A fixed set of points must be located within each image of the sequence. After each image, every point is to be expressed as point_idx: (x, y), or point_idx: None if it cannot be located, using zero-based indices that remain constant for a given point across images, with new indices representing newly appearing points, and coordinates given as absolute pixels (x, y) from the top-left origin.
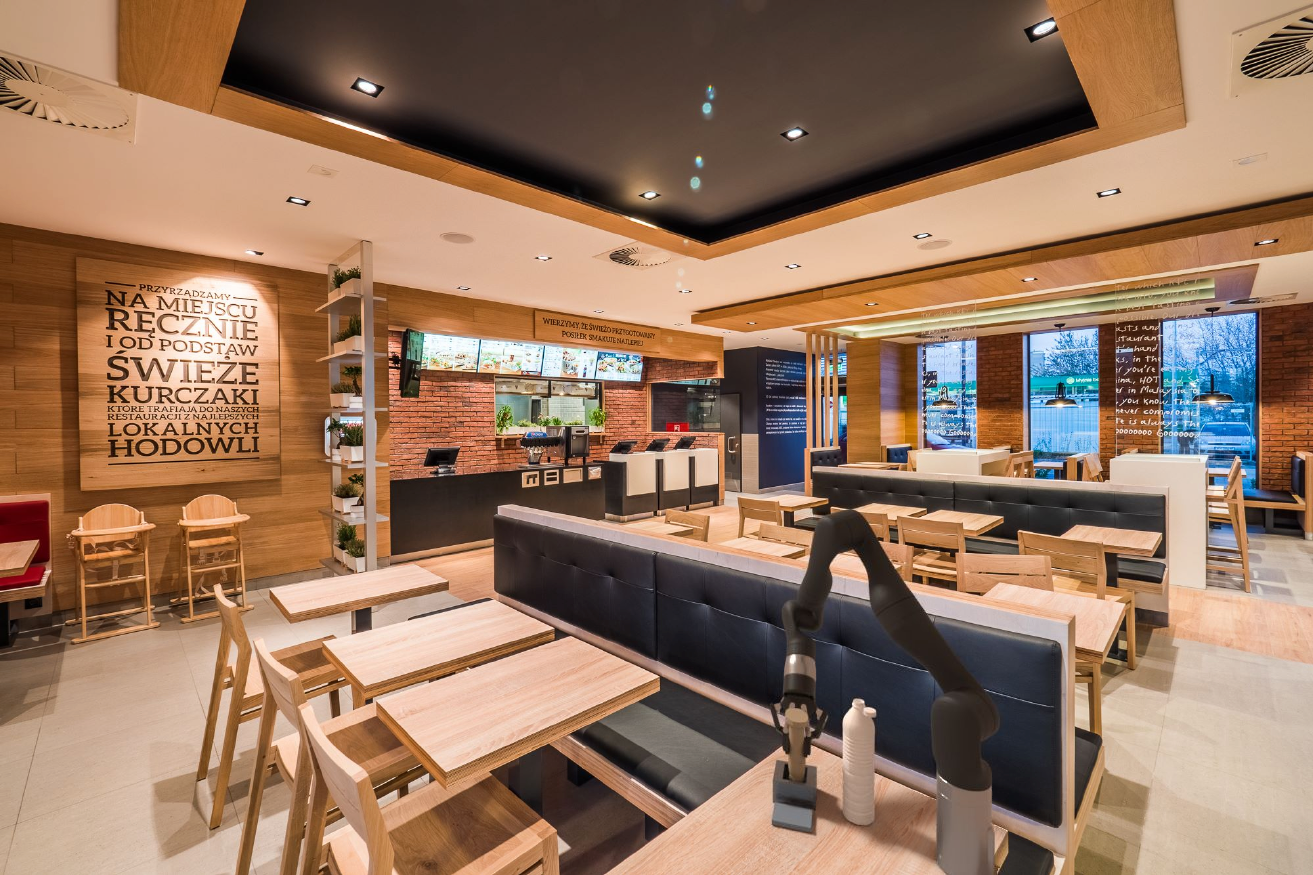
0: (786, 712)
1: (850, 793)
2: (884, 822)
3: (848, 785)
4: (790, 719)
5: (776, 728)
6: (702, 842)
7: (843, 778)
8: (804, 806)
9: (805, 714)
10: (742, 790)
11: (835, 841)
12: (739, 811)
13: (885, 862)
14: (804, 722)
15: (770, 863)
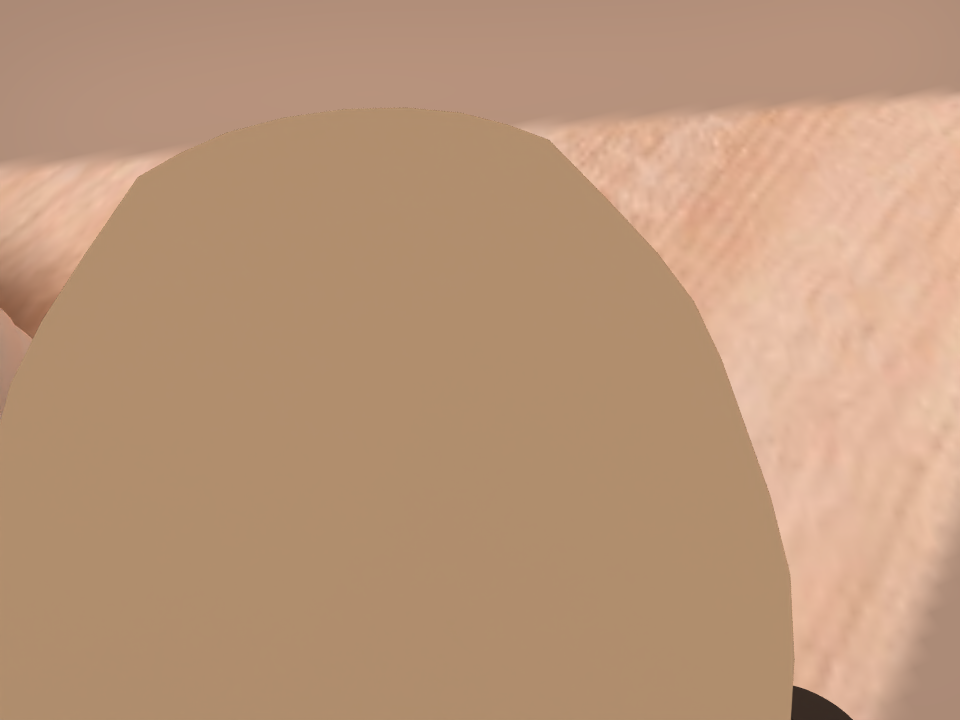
0: (750, 625)
1: (24, 332)
2: None
3: (3, 311)
4: (602, 215)
5: (819, 698)
6: (935, 203)
7: (5, 370)
8: None
9: (36, 571)
10: (844, 675)
11: None
12: (814, 440)
13: (62, 174)
14: (233, 148)
15: (608, 126)
